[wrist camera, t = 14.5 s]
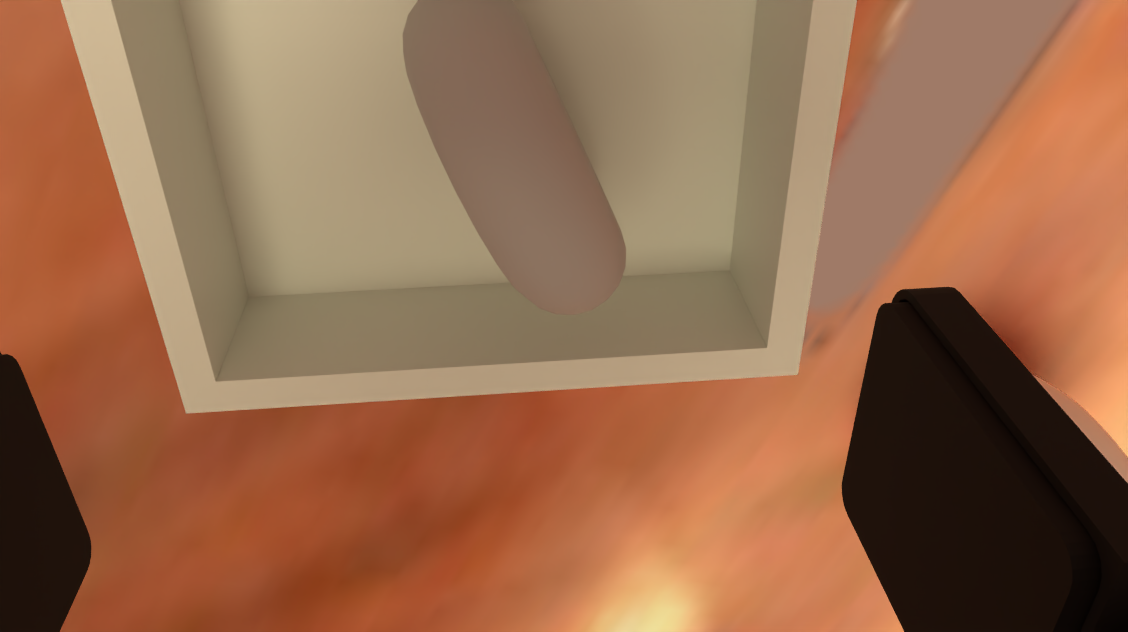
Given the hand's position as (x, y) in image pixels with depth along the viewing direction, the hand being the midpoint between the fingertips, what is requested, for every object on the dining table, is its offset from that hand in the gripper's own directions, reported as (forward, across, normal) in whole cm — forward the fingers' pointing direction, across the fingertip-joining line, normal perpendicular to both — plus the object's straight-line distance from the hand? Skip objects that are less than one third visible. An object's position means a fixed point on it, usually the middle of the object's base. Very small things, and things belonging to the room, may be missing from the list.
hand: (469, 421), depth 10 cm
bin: (+22, 0, +2) cm, 22 cm away
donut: (+22, -1, +4) cm, 22 cm away
